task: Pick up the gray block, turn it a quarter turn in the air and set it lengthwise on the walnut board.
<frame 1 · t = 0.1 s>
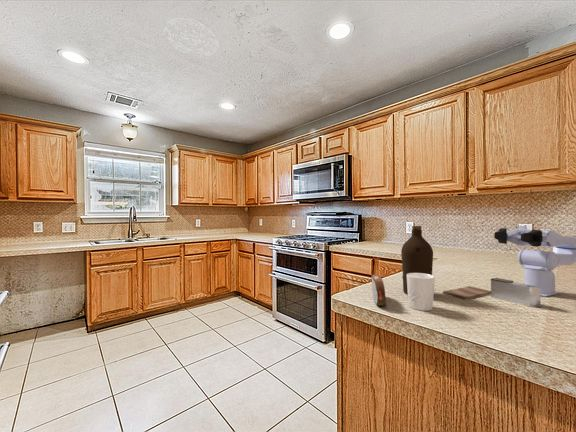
hand: (508, 236, 90), 22 cm above the worktop, tool horizontal, fingers open, 7 cm apart
white cup: (420, 307, 83), on the worktop
walnut board: (467, 293, 97), on the worktop
olive oil: (417, 293, 98), on the worktop
tin: (377, 302, 89), on the worktop
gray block: (512, 300, 89), on the worktop
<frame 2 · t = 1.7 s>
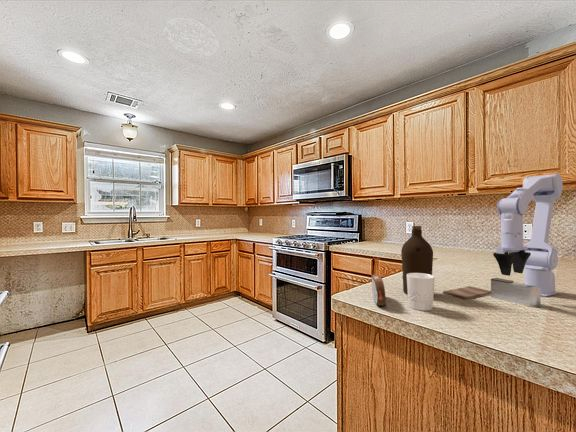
hand: (512, 273, 89), 9 cm above the worktop, tool pointing down, fingers open, 7 cm apart
nothing on the worktop moved.
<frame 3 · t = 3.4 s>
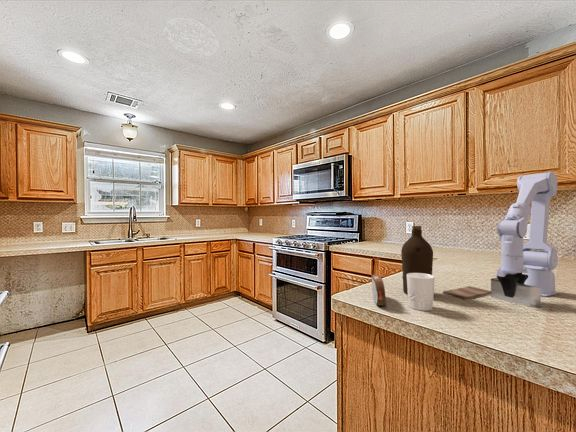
hand: (512, 295, 89), 2 cm above the worktop, tool pointing down, fingers closed on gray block, 3 cm apart
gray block: (512, 300, 89), on the worktop, touching gripper
everything else where it was.
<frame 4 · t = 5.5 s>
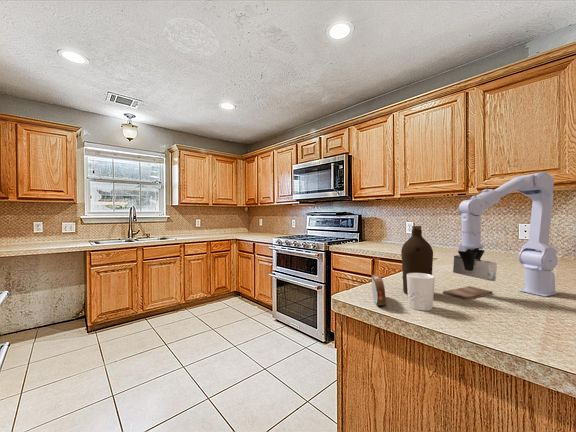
hand: (471, 269, 96), 9 cm above the worktop, tool pointing down, fingers closed on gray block, 3 cm apart
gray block: (471, 275, 96), point 7 cm above the worktop, touching gripper
everything else where it was.
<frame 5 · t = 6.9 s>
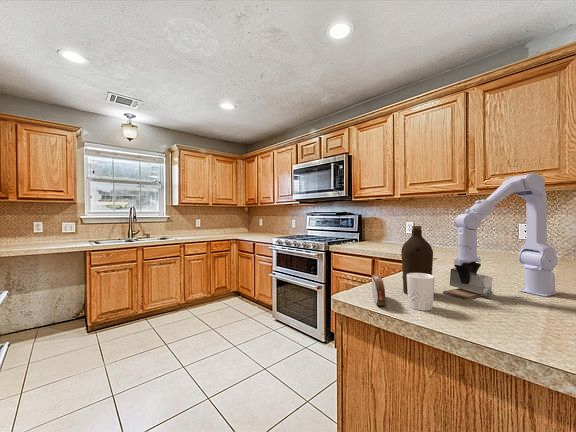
hand: (467, 282, 97), 4 cm above the worktop, tool pointing down, fingers closed on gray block, 3 cm apart
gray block: (467, 289, 97), point 2 cm above the worktop, touching gripper
everything else where it was.
when the fingers open (4 cm above the worktop, at t = 7.6 s): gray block stays where it is, resting on walnut board.
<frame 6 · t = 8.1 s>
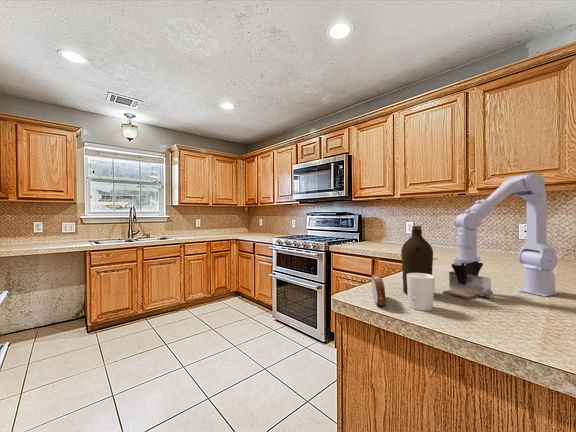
hand: (467, 283, 97), 4 cm above the worktop, tool pointing down, fingers open, 7 cm apart
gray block: (467, 291, 97), point 1 cm above the worktop, touching walnut board
everything else where it was.
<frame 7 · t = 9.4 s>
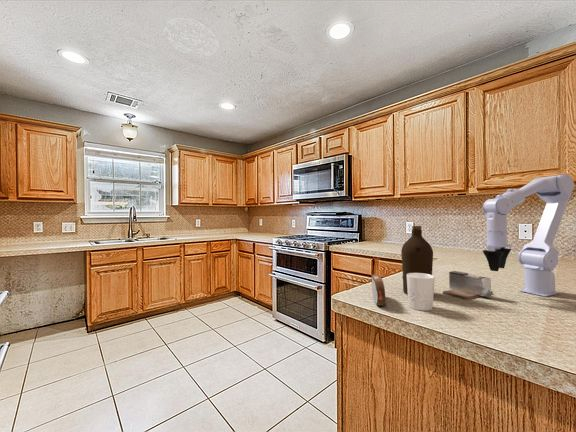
hand: (497, 269, 95), 9 cm above the worktop, tool pointing down, fingers open, 7 cm apart
nothing on the worktop moved.
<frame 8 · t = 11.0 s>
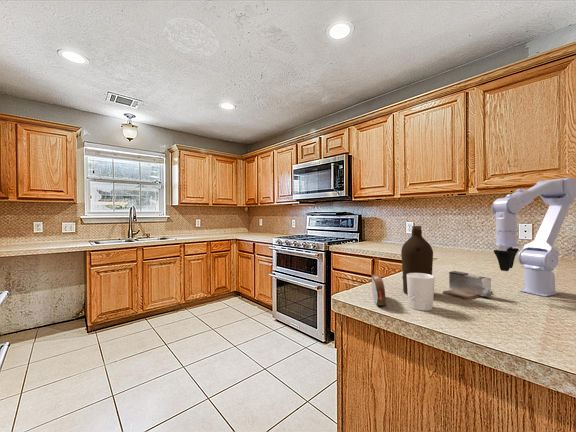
hand: (506, 269, 95), 9 cm above the worktop, tool pointing down, fingers open, 7 cm apart
nothing on the worktop moved.
at the end: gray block 0.1 cm off-centre on the walnut board, point 0.8 cm above the walnut board's base; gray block tilted 0°; the gripper is holding nothing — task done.
